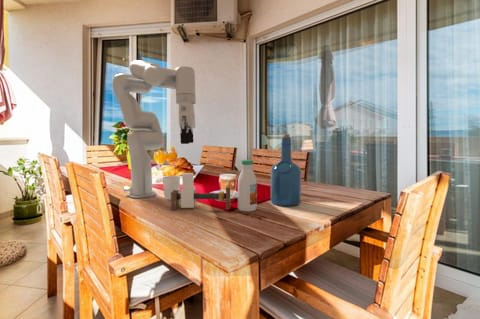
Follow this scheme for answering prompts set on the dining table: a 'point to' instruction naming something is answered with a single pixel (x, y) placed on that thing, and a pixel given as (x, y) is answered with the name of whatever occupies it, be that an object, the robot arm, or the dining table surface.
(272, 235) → the dining table surface
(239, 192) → the milk bottle
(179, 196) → the cord rail
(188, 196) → the marker sleeve
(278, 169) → the wine bottle
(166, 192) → the white cup
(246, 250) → the dining table surface
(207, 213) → the dining table surface
